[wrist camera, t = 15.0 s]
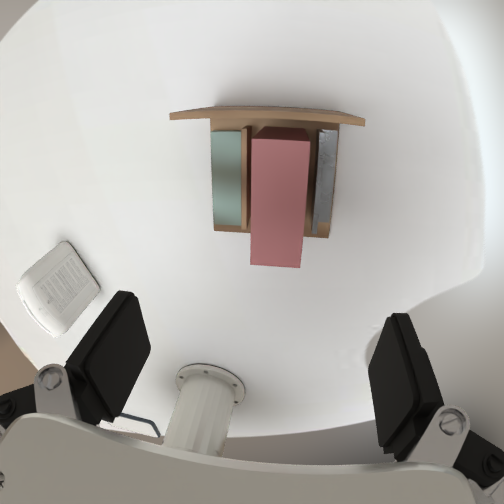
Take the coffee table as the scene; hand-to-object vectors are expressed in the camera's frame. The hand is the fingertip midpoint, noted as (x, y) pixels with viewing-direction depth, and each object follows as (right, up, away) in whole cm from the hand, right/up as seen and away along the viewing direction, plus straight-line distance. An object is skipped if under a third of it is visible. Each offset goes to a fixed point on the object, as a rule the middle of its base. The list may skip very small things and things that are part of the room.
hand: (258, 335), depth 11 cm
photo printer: (-27, +1, +32) cm, 42 cm away
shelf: (+3, +12, +21) cm, 24 cm away
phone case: (-32, -41, +56) cm, 76 cm away
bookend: (+7, +11, +20) cm, 23 cm away
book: (+3, +11, +20) cm, 23 cm away
